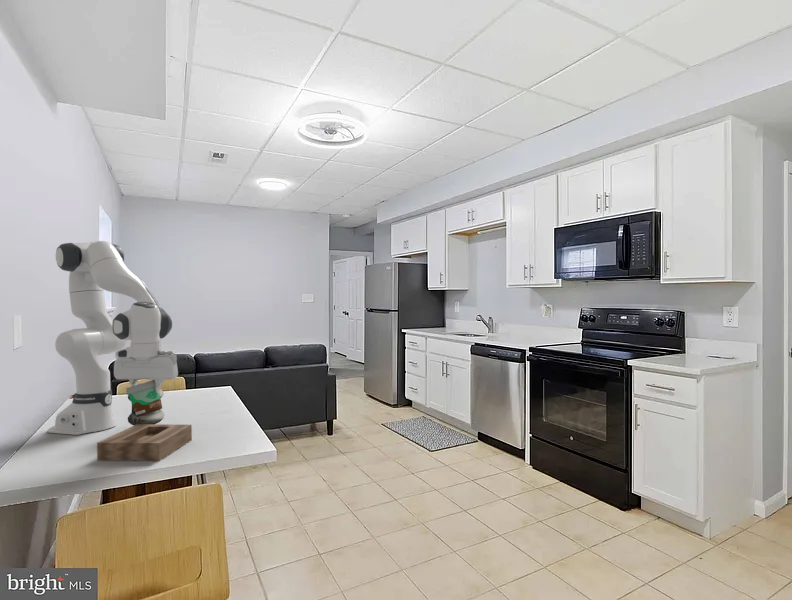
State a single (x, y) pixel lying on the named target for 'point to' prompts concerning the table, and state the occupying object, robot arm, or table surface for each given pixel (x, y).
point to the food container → (144, 398)
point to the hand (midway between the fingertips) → (146, 392)
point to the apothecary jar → (148, 418)
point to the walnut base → (144, 442)
